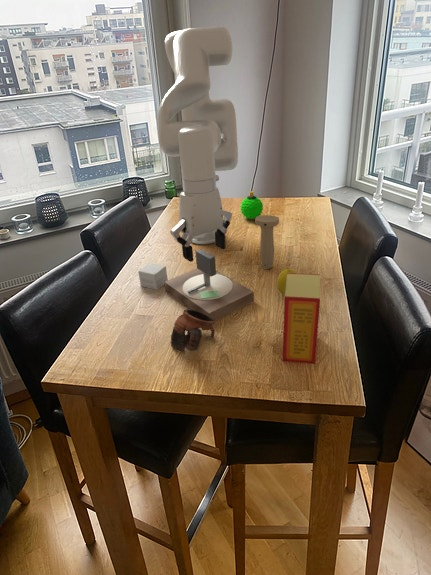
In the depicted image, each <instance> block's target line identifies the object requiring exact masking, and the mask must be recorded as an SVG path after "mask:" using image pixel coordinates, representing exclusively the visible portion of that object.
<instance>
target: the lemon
mask: <svg viewBox="0 0 431 575" xmlns="http://www.w3.org/2000/svg"><path fill="white" fill-rule="evenodd" d="M287 273H297V272H296V271H295V270H293V269H291V268H287V269H283V270H282V271H280V272H279V275H277V276H278V277H277V279H276V286H277V290H278V291H279V293H280V294H282V296H285V289H286V280H287Z"/></svg>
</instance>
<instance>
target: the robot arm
mask: <svg viewBox="0 0 431 575" xmlns="http://www.w3.org/2000/svg"><path fill="white" fill-rule="evenodd" d="M164 48H165V54H166V56H167V60H168V63H169V64H170V67H171V70H172V72H173V74H174V84H173V85H172V86H171V88H170V89H169V90H168V91H167V92H166V93H165V95H164V97H163V98H162V100H161V102H160V104H159V109H158V112H157V127H158V128H157V130H158V131H157V135H158V144H159V149H160V150H161V151H162V153H163V155H165V156H168V157H179V162H180V172H181V180H182V181H181V182H182V191H181V192H180V194H179V202H178V221H179V222H178V223H177V224H175V226H174V227H173V228H171V230H170V231H169V234H170V235H171V236H172V238H173V240H174V241H176V242H177V243H179V244H180V245H181V250H182V257H183V258H184V259H185V260H187V261H188V262H190V263H191V262H193V261H194V253H193V246H192V245H191V244H197V245H209V244H210V245H211V244H215V246H216V247H217V248H218V249H221V250H225V249H226V233H228V229H229V227H230V224H231V220H232V216H233V212H231V211H228V210H225V209H223V202H222V198H221V195H220V191H219V190H220V189H219V187H217V182H218V181H219V180H220V176H219V174H216V172H224V171H225V172H226V171H231V170H234V169H235V168H236V167H238V166H237V165H238V162H239V151H238V150H239V147H238V134H237V132H238V130H237V116H236V109H235V105H234V103H233V102H232V101H231V100H230V99H226V98H217V99H211V98H210V93H209V92H210V89H211V77H210V67H218V66H228V65H229V64H230V63H231V61H232V57H233V42H232V36H231V34H230V31H229V30H228V28H226V27H224V26H207V27H193V28H185V29H182V30H176V31H173V32H170V33H168V34H167V35H166V37H165V40H164ZM179 112H181V118H182V119H181V121H172V119H173V118H174V116H175V115H176V114H178V113H179ZM180 233H182V235H180Z"/></svg>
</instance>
